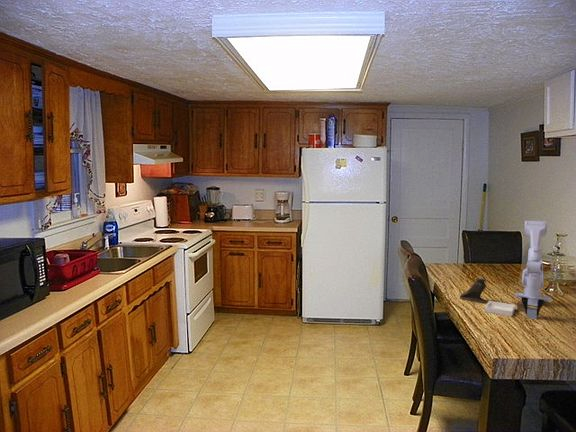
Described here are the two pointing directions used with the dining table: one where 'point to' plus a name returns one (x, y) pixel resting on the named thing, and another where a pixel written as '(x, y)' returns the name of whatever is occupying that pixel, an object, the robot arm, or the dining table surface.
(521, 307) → the walnut block
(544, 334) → the dining table surface
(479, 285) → the sculpture
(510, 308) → the dish
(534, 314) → the gray block
